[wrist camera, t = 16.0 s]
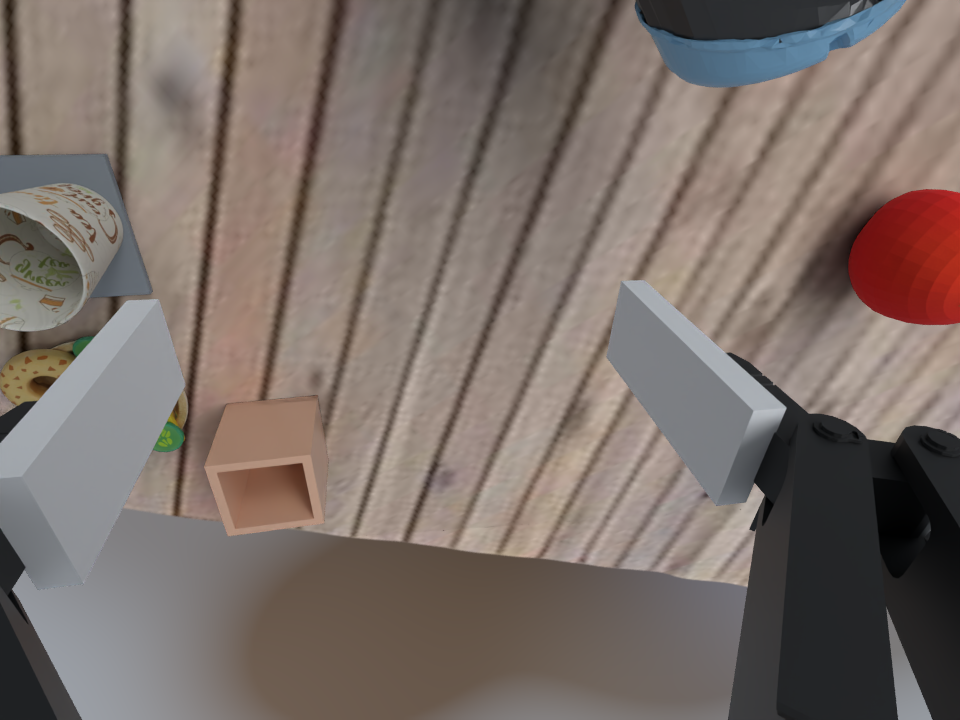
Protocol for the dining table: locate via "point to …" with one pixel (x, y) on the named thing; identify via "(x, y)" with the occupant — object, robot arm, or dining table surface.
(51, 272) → the mug
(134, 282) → the coaster
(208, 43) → the dining table surface
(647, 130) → the dining table surface
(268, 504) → the planter
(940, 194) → the tomato
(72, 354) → the toy food set
